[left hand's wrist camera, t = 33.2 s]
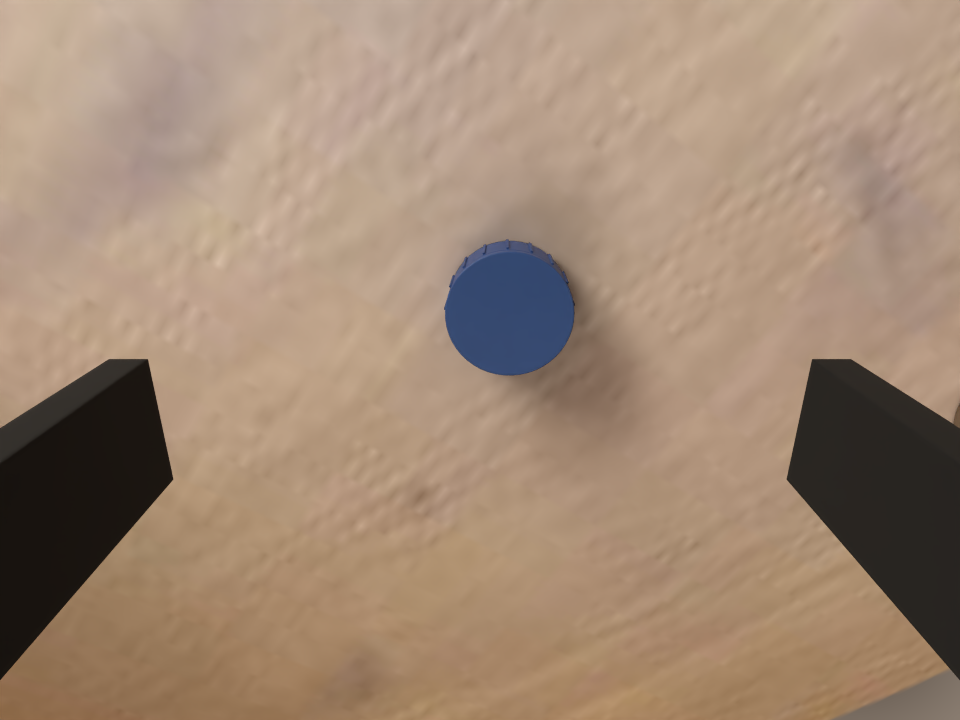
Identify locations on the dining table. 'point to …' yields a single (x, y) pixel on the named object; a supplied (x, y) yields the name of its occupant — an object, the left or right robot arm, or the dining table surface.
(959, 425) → the bottle
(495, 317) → the cap
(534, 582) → the dining table surface
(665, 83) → the dining table surface
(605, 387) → the dining table surface
